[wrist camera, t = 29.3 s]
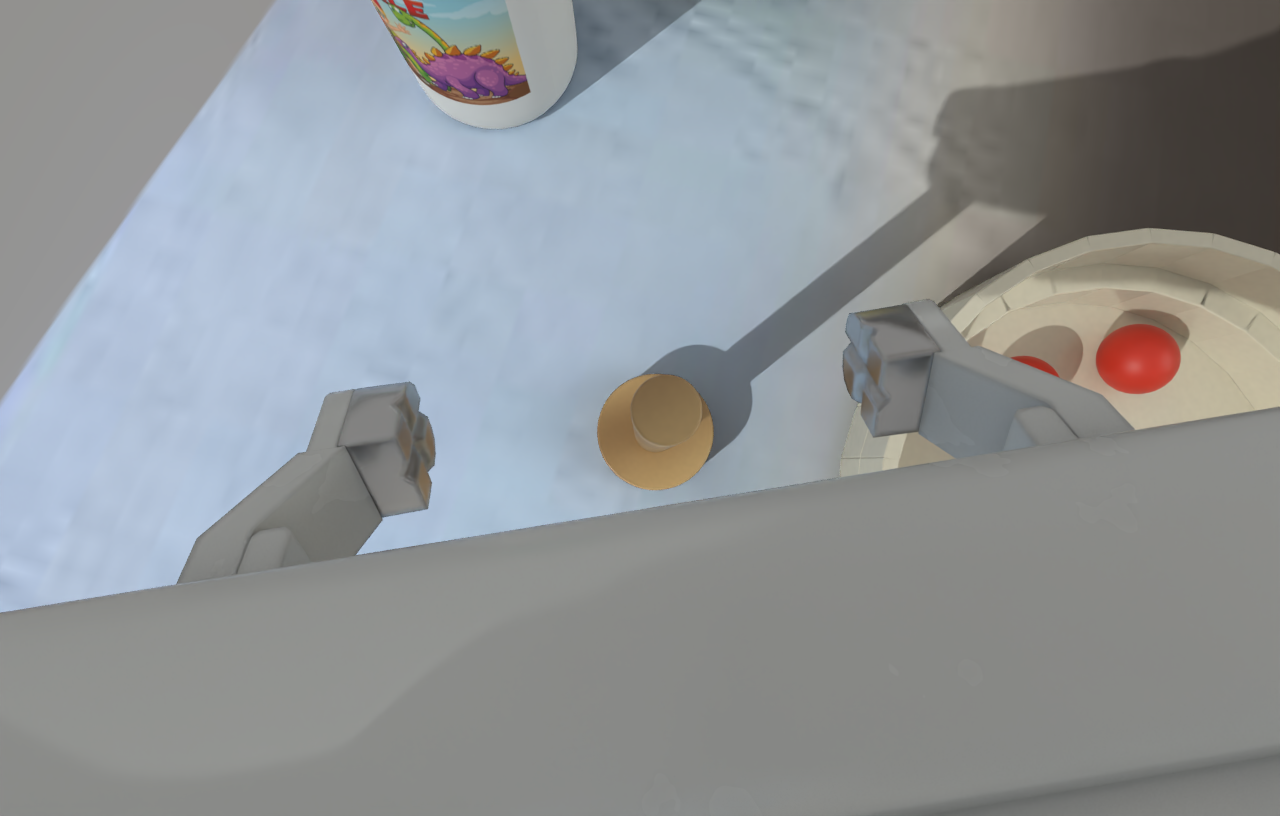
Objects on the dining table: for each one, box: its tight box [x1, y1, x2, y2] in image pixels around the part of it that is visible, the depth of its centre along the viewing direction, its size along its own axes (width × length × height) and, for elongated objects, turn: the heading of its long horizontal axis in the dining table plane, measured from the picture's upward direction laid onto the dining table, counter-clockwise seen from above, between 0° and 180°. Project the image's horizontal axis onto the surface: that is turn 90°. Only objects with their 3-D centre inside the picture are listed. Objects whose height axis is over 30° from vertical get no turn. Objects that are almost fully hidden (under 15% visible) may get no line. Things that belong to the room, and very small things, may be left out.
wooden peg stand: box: [597, 374, 714, 490], centre depth 26 cm, size 5×5×15 cm
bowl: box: [840, 228, 1280, 477], centre depth 30 cm, size 21×21×6 cm
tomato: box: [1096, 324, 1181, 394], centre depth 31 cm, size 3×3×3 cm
